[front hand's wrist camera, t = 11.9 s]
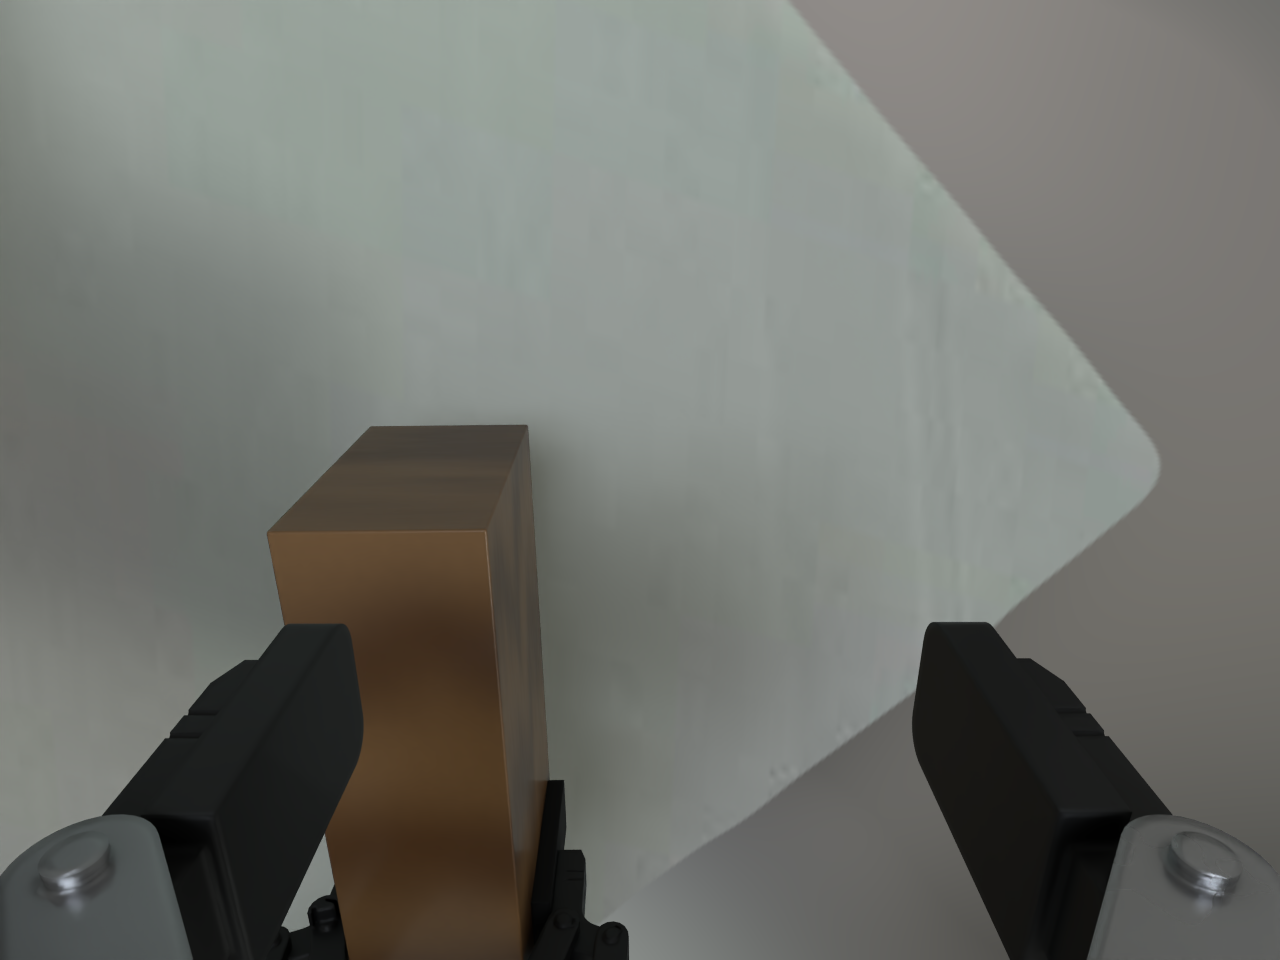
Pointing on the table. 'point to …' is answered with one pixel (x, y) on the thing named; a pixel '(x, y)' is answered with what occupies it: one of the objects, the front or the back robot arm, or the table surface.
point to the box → (431, 684)
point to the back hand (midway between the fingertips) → (482, 805)
